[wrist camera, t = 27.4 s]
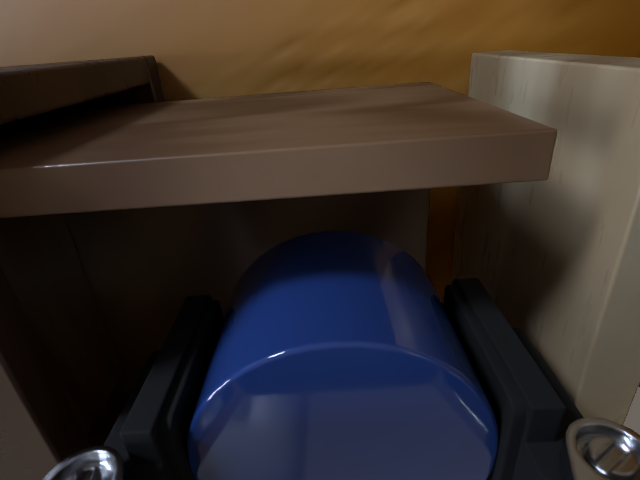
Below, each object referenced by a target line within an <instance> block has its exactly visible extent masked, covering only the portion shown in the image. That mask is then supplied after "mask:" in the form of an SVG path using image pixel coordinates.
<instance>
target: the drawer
mask: <svg viewBox="0 0 640 480" xmlns="http://www.w3.org/2000/svg"><path fill="white" fill-rule="evenodd" d="M456 186H460V188H459V199H458V210H457V221H456V232H455V242H454V253H453V264H452V275H451V285H452V282H453V280H454V279H462V278H478V279H479V280H480V282H481V283H482V285H483V286H484V287H485V289H486V290H487V292H488V293H489V295H490V296H491V298H492V299H493V301H494V302H495V304H496V305H497V307H498V308H499V310H500V311H501V312H502V314H503V315H504V317H505V318H506V320H507V321H508V323H509V324H510V326H511V327H512V328H513V327H517V328H519V329H521V331H522V332H523V333H524V334H525V335H526V337H527V338H528V339H529V341H530V342H531V344H532V345H533V347H534V348H535V349H536V351H537V352H538V354H539V355H540V356H541V358H542V359H543V361H544V362H545V363H546V365H547V366H548V368H549V369H550V371H551V372H552V373H553V375H554V376H555V378H556V379H557V380H558V382H559V383H560V385H561V386H562V387H563V389H564V390H565V392H566V393H567V395H568V396H569V397H570V399H571V400H572V402H573V403H574V404H575V406H576V407H577V409H578V410H579V411H580V413H581V414H582V416H583V417H584V418H587V417H594V418H603V419H607V420H610V421H614V422H617V423H619V424H621V425H623V423H624V421H625V419H626V416H627V413H628V411H629V408H630V406H631V403H632V401H633V398H634V396H635V393H636V391H637V388H638V386H639V387H640V58H636V57H618V56H601V55H583V54H566V53H549V52H531V51H514V50H506V51H493V52H480V53H473V54H472V58H471V69H470V80H469V91H468V96H466V95H463V94H461V93H458V92H455V91H452V90H450V89H447V88H444V87H442V86H439V85H436V84H433V83H430V82H420V83H406V84H393V85H379V86H366V87H353V88H339V89H326V90H312V91H299V92H286V93H272V94H259V95H245V96H232V97H219V98H205V99H192V100H178V101H165V102H151V103H138V104H125V105H111V106H98V107H84V108H71V109H58V110H53V111H49V112H46V113H42V114H38V115H35V116H31V117H27V118H24V119H20V120H16V121H13V122H9V123H5V124H2V125H0V265H1V267H2V269H3V271H4V273H5V275H6V277H7V279H8V281H9V283H10V285H11V287H12V289H13V291H14V293H15V295H16V297H17V299H18V301H19V303H20V305H21V307H22V309H23V312H24V314H25V316H26V318H27V320H28V322H29V324H30V326H31V328H32V330H33V332H34V334H35V336H36V338H37V340H38V342H39V344H40V346H41V348H42V350H43V352H44V354H45V356H46V358H47V360H48V362H49V364H50V366H51V368H52V370H53V372H54V374H55V376H56V378H57V380H58V382H59V384H60V386H61V388H62V390H63V392H64V394H65V396H66V399H67V401H68V403H69V405H70V407H71V409H72V411H73V413H74V415H75V417H76V419H77V421H78V423H79V425H80V427H81V429H82V431H83V433H84V435H85V437H86V439H87V441H88V443H89V445H90V447H93V446H103V445H104V444H105V442H106V440H107V438H108V436H109V434H110V432H111V430H112V428H113V426H114V424H115V422H116V420H117V418H118V416H119V414H120V413H121V411H122V409H123V407H124V405H125V403H126V401H127V399H128V397H129V395H130V393H131V391H132V389H133V387H134V385H135V384H136V382H137V380H138V378H139V376H140V374H141V372H142V370H143V368H144V366H145V364H146V362H147V360H148V358H149V357H150V355H151V354H152V352H153V351H155V350H160V349H161V348H162V346H163V343H164V341H165V339H166V337H167V335H168V333H169V331H170V329H171V327H172V325H173V323H174V321H175V319H176V317H177V315H178V313H179V311H180V309H181V307H182V305H183V303H184V301H185V299H186V298H187V297H188V296H200V295H210V296H211V297H212V299H213V300H218V301H219V302H220V306H221V311H222V315H223V320H224V318H225V315H226V311H227V308H228V305H229V302H230V299H231V296H232V294H233V291H234V288H235V286H236V284H237V283H238V281H239V279H240V277H241V276H242V275H243V273H244V272H245V271H246V270H247V268H248V267H249V266H250V265H251V264H252V263H253V262H254V261H255V260H256V259H257V258H258V257H260V256H261V255H262V254H264V253H265V252H267V251H268V250H269V249H271V248H273V247H275V246H277V245H278V244H280V243H282V242H284V241H287V240H290V239H292V238H295V237H297V236H301V235H305V234H309V233H314V232H322V231H350V232H359V233H363V234H367V235H371V236H374V237H377V238H380V239H383V240H385V241H388V242H390V243H391V244H393V245H395V246H397V247H399V248H401V249H402V250H403V251H405V252H406V253H407V254H409V255H410V256H411V257H412V258H413V259H415V260H416V261H417V262H418V263H419V264H420V265H421V267H422V268H423V269H424V271H425V272H426V257H427V239H428V222H429V205H430V188H442V187H456Z"/></svg>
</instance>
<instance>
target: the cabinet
mask: <svg viewBox="0 0 640 480" xmlns="http://www.w3.org/2000/svg"><path fill="white" fill-rule="evenodd" d="M151 102H165V100H164V96H163V92H162V87H161V83H160V79H159V74H158V70H157V66H156V61H155V58H154V56H139V57H126V58H113V59H100V60H87V61H74V62H61V63H48V64H35V65H22V66H9V67H0V125H2V124H5V123H9V122H13V121H16V120H20V119H24V118H27V117H31V116H35V115H38V114H42V113H46V112H49V111H53V110H58V109H71V108H84V107H98V106H111V105H125V104H138V103H151ZM88 447H90V445H89V443H88V441H87V439H86V437H85V435H84V433H83V431H82V429H81V427H80V425H79V423H78V421H77V419H76V417H75V415H74V413H73V411H72V409H71V407H70V405H69V403H68V401H67V399H66V396H65V394H64V392H63V390H62V388H61V386H60V384H59V382H58V380H57V378H56V376H55V374H54V372H53V370H52V368H51V366H50V364H49V362H48V360H47V358H46V356H45V354H44V352H43V350H42V348H41V346H40V344H39V342H38V340H37V338H36V336H35V334H34V332H33V330H32V328H31V326H30V324H29V322H28V320H27V318H26V316H25V314H24V312H23V309H22V307H21V305H20V303H19V301H18V299H17V297H16V295H15V293H14V291H13V289H12V287H11V285H10V283H9V281H8V279H7V277H6V275H5V273H4V271H3V269H2V267H1V265H0V480H43V479H44V478H45V476H46V475H47V474H48V473H49V472H50V471H51V470H52V469H53V468H54V467H55V466H56V465H57V464H58V463H59V462H61V461H62V460H64V459H65V458H67V457H68V456H70V455H71V454H73V453H76V452H78V451H80V450H82V449H85V448H88Z"/></svg>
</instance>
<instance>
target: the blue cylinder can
mask: <svg viewBox="0 0 640 480" xmlns="http://www.w3.org/2000/svg"><path fill="white" fill-rule="evenodd" d="M498 448H499V430H498V423H497V420H496V417H495V414H494V410H493V408H492V406H491V404H490V402H489V400H488V398H487V396H486V394H485V392H484V390H483V387H482V385H481V383H480V381H479V379H478V377H477V375H476V373H475V371H474V369H473V367H472V365H471V362H470V360H469V358H468V356H467V354H466V352H465V350H464V348H463V346H462V344H461V342H460V340H459V338H458V335H457V333H456V331H455V329H454V327H453V325H452V323H451V321H450V319H449V317H448V315H447V313H446V310H445V308H444V306H443V304H442V302H441V300H440V298H439V296H438V294H437V292H436V290H435V288H434V285H433V284H432V282H431V280H430V278H429V276H428V275H427V273H426V272H425V271H424V269H423V268H422V267H421V265H420V264H419V263H418V262H417V261H416V260H415V259H413V258H412V257H411V256H410V255H409V254H407V253H406V252H405V251H403V250H402V249H401V248H399V247H397V246H395V245H393V244H391V243H390V242H388V241H385V240H383V239H380V238H377V237H374V236H371V235H367V234H363V233H359V232H350V231H322V232H314V233H309V234H305V235H301V236H297V237H295V238H292V239H290V240H287V241H284V242H282V243H280V244H278V245H277V246H275V247H273V248H271V249H269V250H268V251H267V252H265V253H264V254H262V255H261V256H260V257H258V258H257V259H256V260H255V261H254V262H253V263H252V264H251V265H250V266H249V267H248V268H247V270H246V271H245V272H244V273H243V275H242V276H241V277H240V279H239V281H238V283H237V284H236V286H235V288H234V291H233V294H232V296H231V299H230V302H229V305H228V308H227V311H226V315H225V318H224V321H223V324H222V327H221V330H220V333H219V336H218V339H217V342H216V346H215V349H214V352H213V355H212V358H211V361H210V364H209V367H208V370H207V374H206V377H205V380H204V383H203V386H202V389H201V392H200V395H199V398H198V401H197V405H196V408H195V411H194V414H193V417H192V420H191V423H190V426H189V431H188V436H187V459H188V463H189V467H190V471H191V473H192V476H193V478H194V480H488V478H489V477H490V475H491V473H492V471H493V469H494V466H495V463H496V459H497V455H498Z"/></svg>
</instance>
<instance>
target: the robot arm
mask: <svg viewBox="0 0 640 480" xmlns="http://www.w3.org/2000/svg"><path fill="white" fill-rule="evenodd" d="M443 306H444V308H445V310H446V313H447V315H448V317H449V319H450V321H451V323H452V325H453V327H454V329H455V331H456V333H457V335H458V338H459V340H460V342H461V344H462V346H463V348H464V350H465V352H466V354H467V356H468V358H469V360H470V362H471V365H472V367H473V369H474V371H475V373H476V375H477V377H478V379H479V381H480V383H481V385H482V387H483V390H484V392H485V394H486V396H487V398H488V400H489V402H490V404H491V406H492V408H493V410H494V414H495V417H496V420H497V423H498V430H499V448H498V455H497V459H496V463H495V466H494V469H493V471H492V473H491V475H490V477H489V478H488V480H640V435H638V434H637V433H636V432H634V431H633V430H631V429H629V428H627V427H625V426H623V425H621V424H619V423H617V422H614V421H610V420H607V419H603V418H594V417H587V418H584V417H583V416H582V414H581V413H580V411H579V410H578V409H577V407H576V406H575V404H574V403H573V402H572V400H571V399H570V397H569V396H568V395H567V393H566V392H565V390H564V389H563V387H562V386H561V385H560V383H559V382H558V380H557V379H556V378H555V376H554V375H553V373H552V372H551V371H550V369H549V368H548V366H547V365H546V363H545V362H544V361H543V359H542V358H541V356H540V355H539V354H538V352H537V351H536V349H535V348H534V347H533V345H532V344H531V342H530V341H529V339H528V338H527V337H526V335H525V334H524V333H523V332H522V331H521V329H519V328H517V327H513V328H512V327H511V326H510V324H509V323H508V321H507V320H506V318H505V317H504V315H503V314H502V312H501V311H500V310H499V308H498V307H497V305H496V304H495V302H494V301H493V299H492V298H491V296H490V295H489V293H488V292H487V290H486V289H485V287H484V286H483V285H482V283H481V282H480V280H479V279H478V278H462V279H454V280H453V282H452V285H446V287H445V293H444V305H443ZM223 321H224V320H223V315H222V311H221V306H220V302H219V301H218V300H213V299H212V297H211V296H210V295H200V296H188V297H187V298H186V299H185V301H184V303H183V305H182V307H181V309H180V311H179V313H178V315H177V317H176V319H175V321H174V323H173V325H172V327H171V329H170V331H169V333H168V335H167V337H166V339H165V341H164V343H163V346H162V348H161V349H160V350H155V351H153V352H152V354H151V355H150V357H149V358H148V360H147V362H146V364H145V366H144V368H143V370H142V372H141V374H140V376H139V378H138V380H137V382H136V384H135V385H134V387H133V389H132V391H131V393H130V395H129V397H128V399H127V401H126V403H125V405H124V407H123V409H122V411H121V413H120V414H119V416H118V418H117V420H116V422H115V424H114V426H113V428H112V430H111V432H110V434H109V436H108V438H107V440H106V442H105V444H104V445H103V446H93V447H88V448H85V449H82V450H80V451H78V452H76V453H73V454H71V455H70V456H68V457H67V458H65V459H64V460H62V461H61V462H59V463H58V464H57V465H56V466H55V467H54V468H53V469H52V470H51V471H50V472H49V473H48V474H47V475H46V476H45V478H44V479H43V480H194V478H193V476H192V473H191V471H190V467H189V463H188V459H187V436H188V431H189V426H190V423H191V420H192V417H193V414H194V411H195V408H196V405H197V401H198V398H199V395H200V392H201V389H202V386H203V383H204V380H205V377H206V374H207V370H208V367H209V364H210V361H211V358H212V355H213V352H214V349H215V346H216V342H217V339H218V336H219V333H220V330H221V327H222V324H223Z"/></svg>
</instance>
